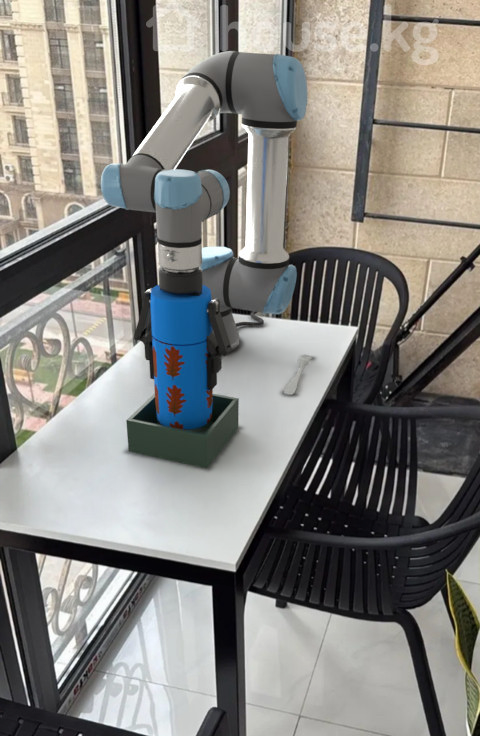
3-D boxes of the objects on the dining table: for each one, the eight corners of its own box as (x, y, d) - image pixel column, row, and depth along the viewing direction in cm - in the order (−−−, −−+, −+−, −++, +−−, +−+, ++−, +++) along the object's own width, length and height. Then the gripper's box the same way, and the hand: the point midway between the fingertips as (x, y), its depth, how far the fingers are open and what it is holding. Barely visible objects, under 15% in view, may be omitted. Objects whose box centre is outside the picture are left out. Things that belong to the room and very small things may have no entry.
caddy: (165, 413, 156) (164, 384, 153) (238, 428, 153) (238, 398, 149) (128, 451, 143) (126, 420, 139) (207, 468, 139) (206, 436, 136)
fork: (282, 402, 168) (282, 392, 166) (303, 356, 184) (303, 346, 182) (294, 404, 167) (294, 394, 166) (314, 358, 183) (315, 348, 182)
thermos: (202, 434, 140) (201, 305, 127) (147, 425, 141) (140, 298, 128) (219, 407, 149) (219, 285, 136) (167, 399, 150) (162, 278, 137)
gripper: (108, 263, 129) (117, 378, 141) (235, 282, 124) (234, 401, 135) (129, 251, 135) (136, 363, 147) (251, 269, 130) (249, 384, 142)
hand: (183, 381), depth 141 cm, fingers closed on thermos, 11 cm apart
